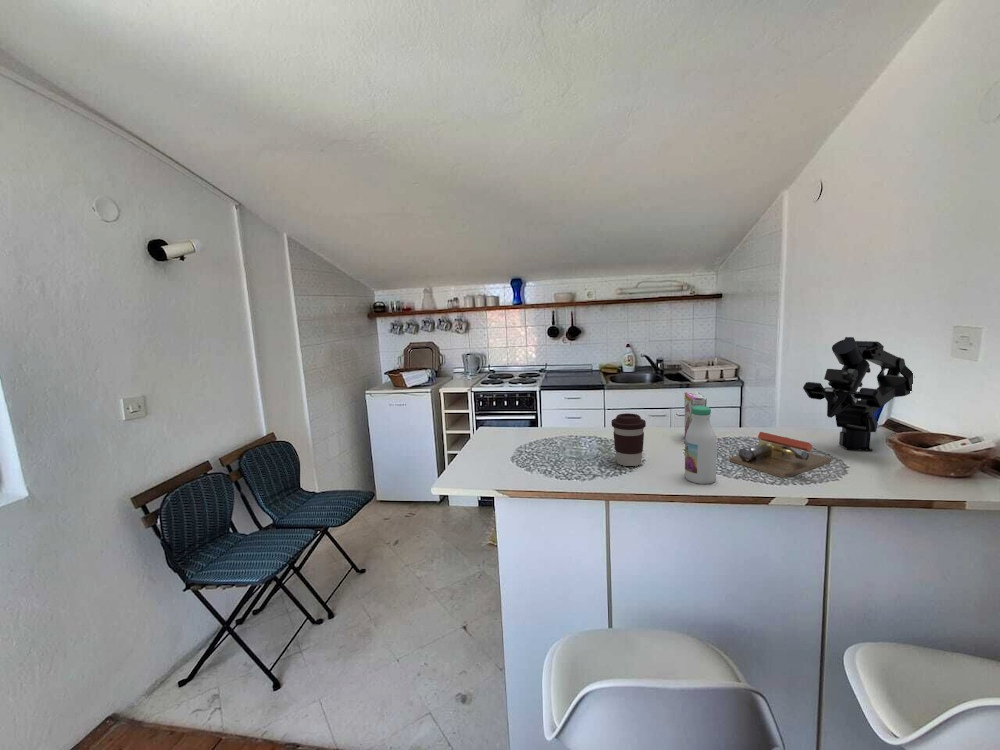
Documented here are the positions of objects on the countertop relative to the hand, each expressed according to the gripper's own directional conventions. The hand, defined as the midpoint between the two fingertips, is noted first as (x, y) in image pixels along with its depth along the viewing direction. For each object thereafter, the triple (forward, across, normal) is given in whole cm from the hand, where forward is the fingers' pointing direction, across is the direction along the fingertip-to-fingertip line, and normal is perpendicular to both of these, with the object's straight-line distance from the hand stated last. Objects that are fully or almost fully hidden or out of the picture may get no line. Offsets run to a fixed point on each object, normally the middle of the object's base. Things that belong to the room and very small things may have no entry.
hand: (829, 416), depth 124 cm
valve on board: (+19, -5, -2) cm, 20 cm away
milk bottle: (+40, -9, -22) cm, 46 cm away
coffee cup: (+44, -28, -28) cm, 60 cm away
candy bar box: (+21, -33, -3) cm, 39 cm away
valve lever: (+15, 0, -1) cm, 15 cm away
